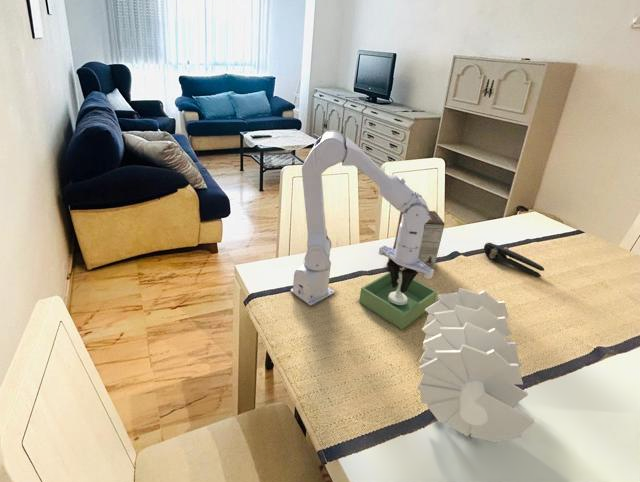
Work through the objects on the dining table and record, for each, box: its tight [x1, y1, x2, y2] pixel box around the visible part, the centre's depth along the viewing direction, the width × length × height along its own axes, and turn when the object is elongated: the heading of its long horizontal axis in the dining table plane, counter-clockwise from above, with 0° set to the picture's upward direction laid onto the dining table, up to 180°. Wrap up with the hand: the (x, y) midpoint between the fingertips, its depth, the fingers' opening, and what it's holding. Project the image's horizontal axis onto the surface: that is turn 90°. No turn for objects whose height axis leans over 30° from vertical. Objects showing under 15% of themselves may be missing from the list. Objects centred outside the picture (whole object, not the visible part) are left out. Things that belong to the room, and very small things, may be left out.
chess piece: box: [388, 267, 407, 305], centre depth 100 cm, size 5×5×10 cm
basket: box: [358, 271, 438, 330], centre depth 102 cm, size 15×13×4 cm
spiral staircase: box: [416, 287, 536, 443], centre depth 74 cm, size 18×18×25 cm
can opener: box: [483, 242, 545, 278], centre depth 122 cm, size 18×7×6 cm, turn 41°
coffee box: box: [418, 210, 446, 270], centre depth 120 cm, size 9×6×16 cm
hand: (399, 288), depth 101 cm, fingers closed on chess piece
